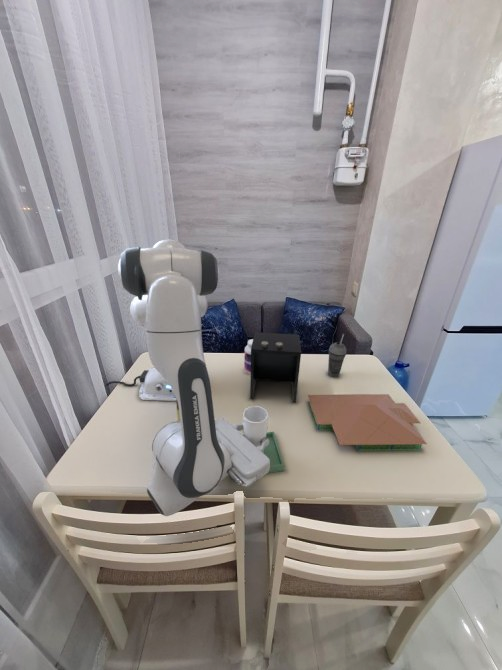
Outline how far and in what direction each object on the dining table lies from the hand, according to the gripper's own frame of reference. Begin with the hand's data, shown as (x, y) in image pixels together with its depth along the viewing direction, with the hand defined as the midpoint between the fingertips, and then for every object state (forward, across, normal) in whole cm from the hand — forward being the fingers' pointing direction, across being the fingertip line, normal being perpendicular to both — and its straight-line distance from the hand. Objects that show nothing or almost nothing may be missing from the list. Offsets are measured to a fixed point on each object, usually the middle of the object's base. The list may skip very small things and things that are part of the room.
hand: (257, 431), depth 73 cm
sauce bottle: (-10, +20, +9) cm, 25 cm away
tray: (-1, 0, +9) cm, 9 cm away
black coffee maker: (+26, +18, +9) cm, 33 cm away
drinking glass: (-1, 0, +8) cm, 8 cm away
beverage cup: (+53, +8, +9) cm, 54 cm away
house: (+35, -15, +9) cm, 39 cm away
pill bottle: (+29, +33, +9) cm, 45 cm away
